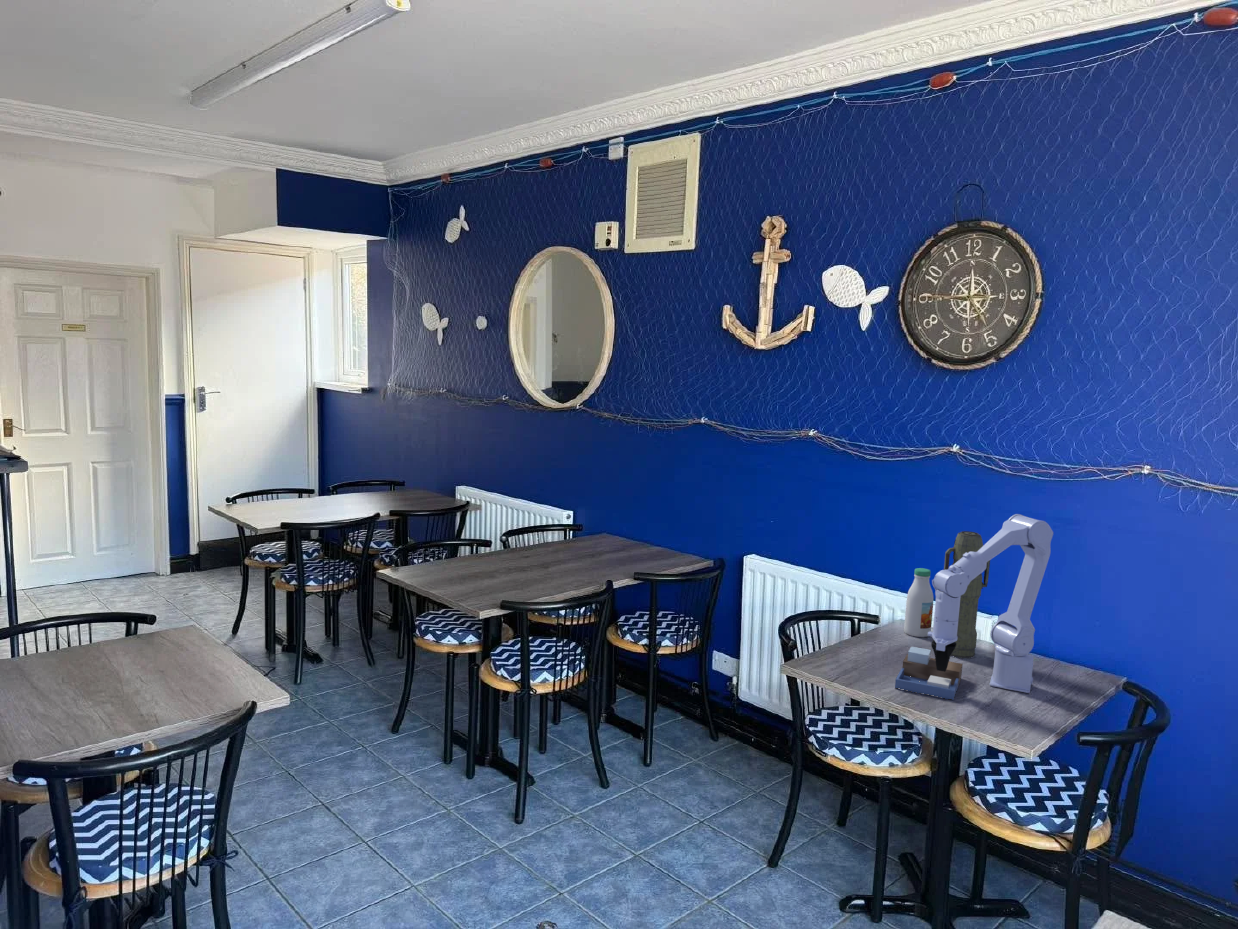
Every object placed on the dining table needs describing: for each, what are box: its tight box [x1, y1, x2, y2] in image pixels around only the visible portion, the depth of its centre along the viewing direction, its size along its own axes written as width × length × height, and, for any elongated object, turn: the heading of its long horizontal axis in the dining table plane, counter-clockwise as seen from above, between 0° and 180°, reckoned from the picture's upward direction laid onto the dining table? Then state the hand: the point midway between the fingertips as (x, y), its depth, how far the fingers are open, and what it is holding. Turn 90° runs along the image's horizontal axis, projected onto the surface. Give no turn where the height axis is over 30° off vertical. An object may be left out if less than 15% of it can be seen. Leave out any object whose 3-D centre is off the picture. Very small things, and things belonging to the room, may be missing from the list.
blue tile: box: [907, 646, 932, 665], centre depth 234 cm, size 5×5×2 cm
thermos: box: [943, 530, 991, 659], centre depth 251 cm, size 9×12×35 cm
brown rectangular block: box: [901, 653, 963, 687], centre depth 233 cm, size 14×7×4 cm, turn 63°
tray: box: [894, 667, 959, 701], centre depth 225 cm, size 14×10×2 cm
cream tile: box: [927, 675, 951, 689], centre depth 223 cm, size 5×5×2 cm
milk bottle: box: [903, 567, 934, 638], centre depth 268 cm, size 8×8×20 cm
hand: (941, 670), depth 225 cm, fingers closed
